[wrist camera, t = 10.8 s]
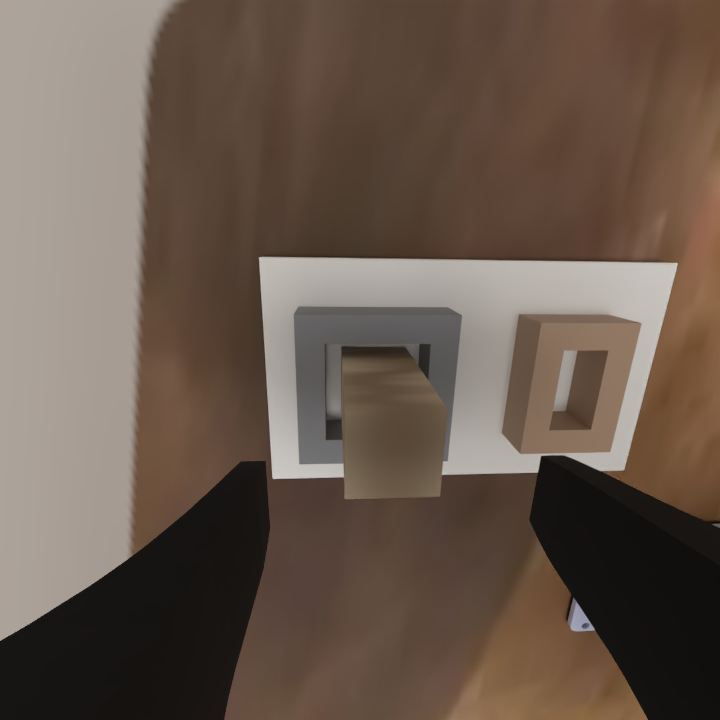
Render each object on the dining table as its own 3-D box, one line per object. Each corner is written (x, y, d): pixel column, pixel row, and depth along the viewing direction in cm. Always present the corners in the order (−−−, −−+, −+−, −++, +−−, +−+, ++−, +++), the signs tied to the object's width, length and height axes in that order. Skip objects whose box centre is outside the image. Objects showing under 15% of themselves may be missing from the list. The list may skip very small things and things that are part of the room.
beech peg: (405, 346, 18) (448, 409, 11) (401, 405, 18) (439, 496, 12) (341, 346, 17) (345, 410, 11) (341, 405, 18) (344, 499, 12)
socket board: (659, 262, 18) (720, 265, 15) (611, 460, 21) (653, 493, 19) (263, 256, 17) (248, 259, 14) (275, 467, 20) (265, 504, 17)
